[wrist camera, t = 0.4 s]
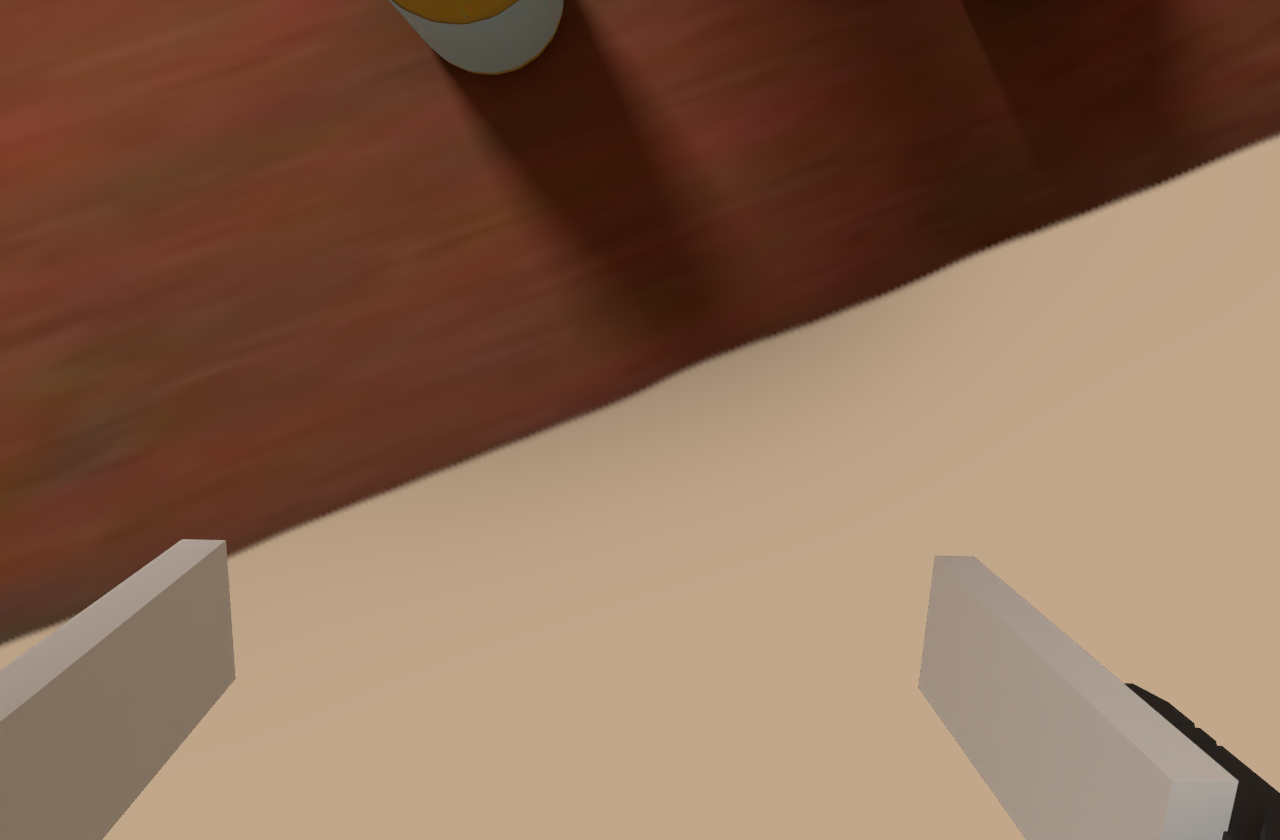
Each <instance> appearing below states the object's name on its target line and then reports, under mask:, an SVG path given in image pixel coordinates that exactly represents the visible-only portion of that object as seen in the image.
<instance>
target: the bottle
mask: <svg viewBox="0 0 1280 840" xmlns="http://www.w3.org/2000/svg"><path fill="white" fill-rule="evenodd" d="M389 1H390V2H391V3H392V4H393V5H394V6H395V8H396V9H397V10H398V11H399V12H400V13H401V14H402V16H403V17H404V18H405V19H406V20H407V21H408V22H409V24H410V25H411V26H412V27H413V28H414V29H415V30H416V32H417V33H418V34H419V35H420V36H421V37H422V38H423V40H424V41H425V42H426V43H427V44H428V45H429V46H430V47H431V48H432V49H433V50H434V51H435V52H437V53H438V54H439V55H440V56H441V57H442V58H443V59H445V60H446V61H447V62H449V63H450V64H452V65H454V66H457V67H459V68H461V69H463V70H466V71H468V72H471V73H476V74H487V75H499V74H503V73H507V72H511V71H515V70H518V69H520V68H522V67H524V66H525V65H527V64H528V63H530V62H531V61H533V60H534V59H536V58H537V57H538V56H539V55H540V54H541V53H542V52H543V51H544V49H545V48H546V47H547V46H548V44H549V43H550V42H551V40H552V39H553V37H554V35H555V33H556V31H557V28H558V25H559V23H560V20H561V17H562V13H563V3H564V0H389Z"/></svg>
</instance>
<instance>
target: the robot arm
mask: <svg viewBox="0 0 1280 840" xmlns="http://www.w3.org/2000/svg"><path fill="white" fill-rule="evenodd" d="M234 680H235V666H234V652H233V637H232V623H231V608H230V594H229V580H228V565H227V551H226V540H189V539H182V540H181V541H179V542H178V543H176V544H175V545H174V546H172V547H171V548H170V549H168V550H167V551H165V552H164V553H163V554H161V555H160V556H158V557H157V558H156V559H154V560H153V561H151V562H150V563H149V564H147V565H146V566H144V567H143V568H142V569H140V570H139V571H138V572H136V573H135V574H133V575H132V576H131V577H129V578H128V579H126V580H125V581H124V582H122V583H121V584H119V585H118V586H117V587H115V588H114V589H112V590H111V591H110V592H108V593H107V594H106V595H104V596H103V597H101V598H100V599H99V600H97V601H96V602H94V603H93V604H92V605H90V606H89V607H87V608H86V609H85V610H83V611H82V612H80V613H79V614H78V615H76V616H75V617H74V618H72V619H71V620H69V621H68V622H67V623H65V624H64V625H62V626H61V627H60V628H58V629H57V630H55V631H54V632H53V633H51V634H50V635H48V636H47V637H46V638H44V639H43V640H42V641H40V642H39V643H37V644H36V645H35V646H33V647H32V648H31V649H29V650H28V651H26V652H25V653H23V654H22V655H21V656H19V657H18V658H16V659H15V660H14V661H12V662H11V663H10V664H8V665H7V666H6V667H4V668H3V669H1V670H0V840H102V839H103V838H104V837H105V835H106V834H107V833H108V832H109V830H110V829H111V828H112V827H113V826H114V825H115V823H116V822H117V821H118V820H119V818H120V817H121V816H122V815H123V814H124V812H125V811H126V810H127V809H128V808H129V806H130V805H131V804H132V803H133V802H134V800H135V799H136V798H137V797H138V795H139V794H140V793H141V792H142V791H143V790H144V788H145V787H146V786H147V785H148V783H149V782H150V781H151V780H152V779H153V778H154V776H155V775H156V774H157V773H158V771H159V770H160V769H161V768H162V767H163V765H164V764H165V763H166V762H167V761H168V759H169V758H170V757H171V756H172V754H173V753H174V752H175V751H176V750H177V749H178V747H179V746H180V745H181V744H182V743H183V741H184V740H185V739H186V738H187V736H188V735H189V734H190V733H191V732H192V730H193V729H194V728H195V726H197V724H198V723H199V722H200V721H201V720H202V718H203V717H204V716H205V715H206V713H207V712H208V711H209V710H210V709H211V707H212V706H213V705H214V704H215V702H216V701H217V700H218V699H219V698H220V697H221V695H222V694H223V693H224V692H225V691H226V689H227V688H228V687H229V686H230V685H231V683H232V682H233V681H234ZM918 688H919V689H920V690H921V692H922V693H923V695H924V696H925V697H926V699H927V700H928V702H929V703H930V704H931V706H932V707H933V709H934V710H935V712H936V713H937V714H938V716H939V717H940V719H941V720H942V721H943V723H944V724H945V726H946V727H947V729H948V730H949V731H950V733H951V734H952V735H953V737H954V738H955V739H956V741H957V743H958V744H959V745H960V747H961V748H962V749H963V751H964V753H966V755H967V757H968V758H969V760H970V761H971V762H972V764H973V765H974V767H975V768H976V769H977V771H978V772H979V774H980V775H981V776H982V778H983V779H984V781H985V782H986V783H987V785H988V786H989V788H990V789H991V790H992V792H993V793H994V795H995V796H996V798H997V799H998V800H999V802H1000V803H1001V805H1002V806H1003V807H1004V809H1005V810H1006V812H1007V813H1008V814H1009V816H1010V817H1011V819H1012V820H1013V822H1014V823H1015V824H1016V826H1017V827H1018V828H1019V830H1020V831H1021V833H1022V834H1023V836H1024V837H1025V838H1026V840H1280V793H1279V792H1278V791H1276V790H1275V789H1274V788H1273V787H1271V786H1270V785H1269V784H1268V783H1267V782H1265V781H1264V780H1263V779H1262V778H1260V777H1259V776H1258V775H1257V774H1256V773H1254V772H1253V771H1252V770H1251V769H1249V768H1248V767H1247V766H1246V765H1244V764H1243V763H1242V762H1241V761H1240V760H1238V759H1237V758H1236V757H1235V756H1233V755H1232V754H1231V753H1230V752H1229V751H1227V750H1226V749H1225V748H1224V747H1222V746H1217V744H1216V741H1215V740H1214V739H1213V738H1211V737H1210V736H1209V735H1208V734H1206V733H1205V732H1204V731H1203V730H1202V729H1200V728H1195V726H1194V723H1193V722H1192V721H1191V720H1189V719H1188V718H1187V717H1186V716H1184V715H1183V714H1182V713H1181V712H1179V711H1178V710H1177V709H1176V708H1175V707H1173V706H1172V705H1171V704H1170V703H1168V702H1167V701H1165V700H1163V699H1160V698H1159V697H1157V696H1155V695H1153V694H1151V693H1149V692H1148V691H1146V690H1144V689H1142V688H1140V687H1138V686H1136V685H1134V684H1124V683H1122V682H1121V681H1120V680H1119V679H1118V678H1117V677H1115V676H1114V675H1113V674H1112V673H1111V672H1110V671H1108V670H1107V669H1106V668H1105V667H1104V666H1102V665H1101V664H1100V663H1099V662H1098V661H1096V660H1095V659H1094V658H1093V657H1092V656H1091V655H1089V654H1088V653H1087V652H1086V651H1085V650H1084V649H1082V648H1081V647H1080V646H1079V645H1078V644H1077V643H1075V642H1074V641H1073V640H1072V639H1071V638H1069V637H1068V636H1067V635H1066V634H1065V633H1063V632H1062V631H1061V630H1060V629H1059V628H1057V627H1056V626H1055V625H1054V624H1053V623H1052V622H1051V621H1049V620H1048V619H1047V618H1046V617H1045V616H1044V615H1042V614H1041V613H1040V612H1039V611H1037V610H1036V609H1035V608H1034V607H1033V606H1032V605H1031V604H1029V603H1028V602H1027V601H1026V600H1025V599H1023V598H1022V597H1021V596H1020V595H1018V593H1016V592H1015V591H1014V590H1013V589H1012V588H1010V587H1009V586H1008V585H1007V584H1006V583H1004V582H1003V581H1002V580H1001V579H1000V578H999V577H998V576H996V575H995V574H994V573H993V572H992V571H990V570H989V569H988V568H987V567H986V566H985V565H983V564H982V563H981V562H980V561H979V560H978V559H976V558H975V557H964V556H963V557H961V556H935V559H934V567H933V575H932V583H931V592H930V600H929V607H928V615H927V623H926V631H925V639H924V647H923V654H922V663H921V671H920V678H919V687H918Z"/></svg>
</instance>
